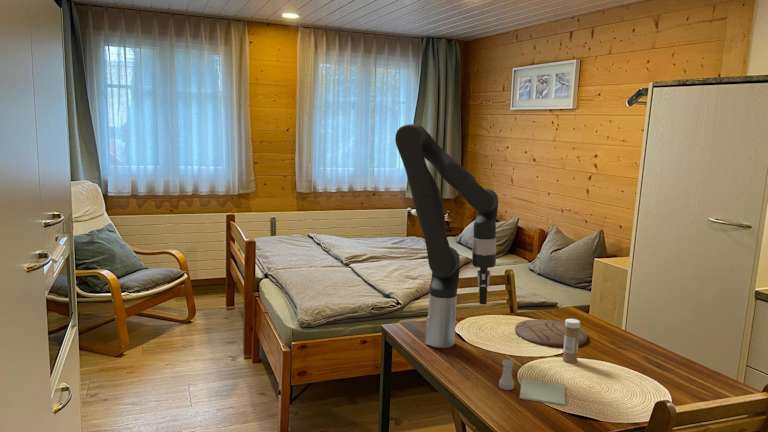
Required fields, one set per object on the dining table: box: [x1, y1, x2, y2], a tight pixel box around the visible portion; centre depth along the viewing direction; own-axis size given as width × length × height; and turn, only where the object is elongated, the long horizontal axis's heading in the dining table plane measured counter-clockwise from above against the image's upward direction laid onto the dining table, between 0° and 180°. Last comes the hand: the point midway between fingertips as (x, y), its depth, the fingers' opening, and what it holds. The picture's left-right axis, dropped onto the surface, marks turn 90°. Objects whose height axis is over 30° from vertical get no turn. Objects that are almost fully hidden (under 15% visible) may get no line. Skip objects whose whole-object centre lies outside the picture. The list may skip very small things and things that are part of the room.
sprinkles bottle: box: [562, 318, 581, 364], centre depth 187 cm, size 5×5×14 cm
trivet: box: [514, 318, 588, 349], centre depth 211 cm, size 25×25×2 cm
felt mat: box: [519, 378, 566, 406], centre depth 164 cm, size 12×12×1 cm
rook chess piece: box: [498, 358, 515, 391], centre depth 166 cm, size 4×4×8 cm
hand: (483, 300), depth 190 cm, fingers open, 8 cm apart
